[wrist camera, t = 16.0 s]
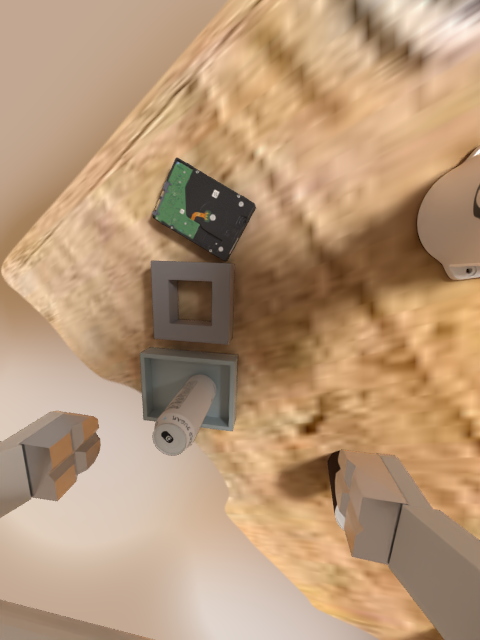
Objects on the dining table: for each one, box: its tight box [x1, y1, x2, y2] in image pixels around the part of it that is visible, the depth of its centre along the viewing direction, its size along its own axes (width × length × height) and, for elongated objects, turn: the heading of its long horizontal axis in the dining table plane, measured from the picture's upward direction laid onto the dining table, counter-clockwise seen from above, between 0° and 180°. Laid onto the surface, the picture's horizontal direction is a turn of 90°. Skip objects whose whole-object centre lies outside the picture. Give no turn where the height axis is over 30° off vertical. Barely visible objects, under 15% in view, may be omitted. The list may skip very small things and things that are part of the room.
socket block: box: [151, 261, 235, 345], centre depth 41 cm, size 14×14×4 cm
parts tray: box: [140, 347, 238, 431], centre depth 45 cm, size 18×14×4 cm
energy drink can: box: [153, 374, 216, 456], centre depth 38 cm, size 6×6×15 cm
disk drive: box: [153, 158, 256, 261], centre depth 39 cm, size 10×3×15 cm
